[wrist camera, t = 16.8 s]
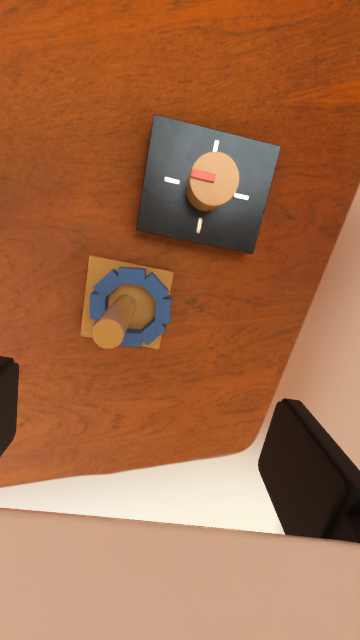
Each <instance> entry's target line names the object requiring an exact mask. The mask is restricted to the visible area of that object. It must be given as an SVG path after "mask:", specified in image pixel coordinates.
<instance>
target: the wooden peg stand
mask: <svg viewBox="0 0 360 640" xmlns="http://www.w3.org/2000/svg"><path fill="white" fill-rule="evenodd" d="M119 267H134V268H146V277H147V276H148V275H149V274H150V273H151V272H153V273H154V274H155V275H156V276H157V277H158V278H159V280H160V281H161V282H162V283H163V284H164V285H165V286H166V288H167V289H168V290H169V294H168V295H166V296H168V297H169V295H170V290H171V285H172V280H173V275H174V271H169V270H164V269H159V268H154V267H149V266H144V265H139V264H134V263H129V262H124V261H119V260H114V259H109V258H104V257H99V256H94V255H91V256H89V262H88V271H87V280H86V289H85V297H84V306H83V315H82V324H81V333H80V336H84V337H90V338H93V340H94V342H95V343H96V344H97V345H98V346H100V347H102V348H105V349H112V348H115V347H117V346H118V345H120V343H121V342H122V340H123V338H124V336H125V333H126V331H127V329H128V328H129V329H142V328H143V327H144V326H145V325H147V324H148V323H149V322H150V321H151V320H152V319H154V318H155V309H156V300H155V299H154V298H153V297H152V296H151V295H150V294H149V293H148V291H147V290H146V289H145V288H144V287H143V286H142V285H130V284H120V285H119V286H118V287H117V288H115V289H114V290H113V291H112V292H111V293H110V294H109V295H108V309H107V311H106V312H105V313H104V314H103V315H102V316H101V318H100V319H99V320H98V319H90V294H91V293H92V292H93V291H95V290H94V289H93V286H95V285H96V284H97V283H98V282H99V281H100V280H101V279H102V278H103V277H105V276H106V275H107V274H108V273H109V272H110V271H111V270H113V269H115V270H116V271H117V272H118V268H119ZM97 320H98V321H97ZM96 321H97V322H96ZM95 322H96V324H95V325H94V326H93V324H94V323H95ZM161 336H162V334H161V335H160V336H159V337H157V338H156V339H155V340H154V341H153V342H151V343H150V344H149V345H147V344H146V343H145V342H144V341H143V343H142V347H148V348H154V349H159V346H160V341H161Z"/></svg>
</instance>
